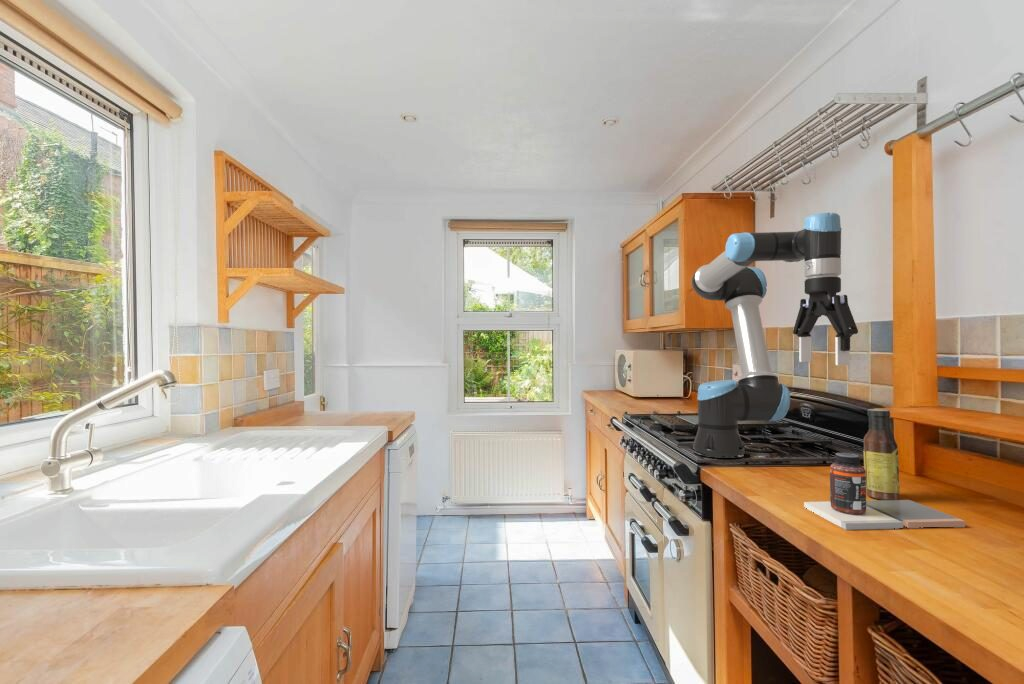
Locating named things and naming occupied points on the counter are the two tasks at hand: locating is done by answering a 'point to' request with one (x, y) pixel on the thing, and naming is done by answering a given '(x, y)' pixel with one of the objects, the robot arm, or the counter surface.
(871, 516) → the cream square tile
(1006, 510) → the counter surface
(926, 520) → the grey square coaster
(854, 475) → the supplement bottle
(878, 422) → the sauce bottle
